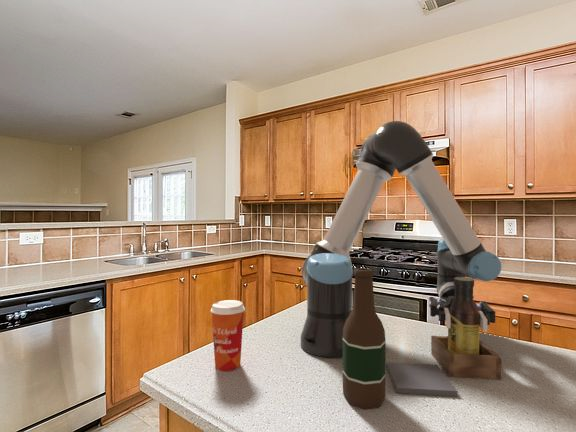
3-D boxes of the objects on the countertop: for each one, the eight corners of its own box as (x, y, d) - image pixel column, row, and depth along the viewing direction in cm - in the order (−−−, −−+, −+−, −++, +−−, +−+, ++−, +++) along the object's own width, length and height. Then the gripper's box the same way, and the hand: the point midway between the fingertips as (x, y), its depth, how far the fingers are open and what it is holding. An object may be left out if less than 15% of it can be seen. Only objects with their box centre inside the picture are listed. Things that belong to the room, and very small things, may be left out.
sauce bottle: (447, 357, 78) (447, 274, 78) (476, 362, 76) (476, 276, 76) (449, 369, 72) (448, 279, 72) (481, 374, 70) (481, 281, 70)
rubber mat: (396, 392, 62) (396, 387, 62) (386, 366, 73) (386, 362, 73) (457, 396, 61) (457, 391, 61) (437, 369, 72) (437, 364, 72)
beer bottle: (387, 412, 56) (387, 273, 56) (341, 407, 58) (341, 271, 58) (383, 389, 64) (383, 266, 64) (343, 385, 65) (343, 265, 65)
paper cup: (203, 370, 72) (203, 306, 72) (222, 356, 79) (222, 298, 79) (234, 376, 69) (234, 310, 69) (251, 361, 76) (251, 301, 76)
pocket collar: (448, 376, 69) (448, 355, 69) (431, 353, 80) (431, 335, 80) (501, 379, 68) (501, 357, 68) (476, 356, 79) (476, 337, 79)
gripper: (494, 315, 87) (520, 348, 66) (417, 308, 94) (417, 335, 73) (494, 287, 87) (520, 311, 66) (417, 282, 94) (417, 301, 73)
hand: (466, 323), depth 69 cm, fingers closed on sauce bottle, 6 cm apart
